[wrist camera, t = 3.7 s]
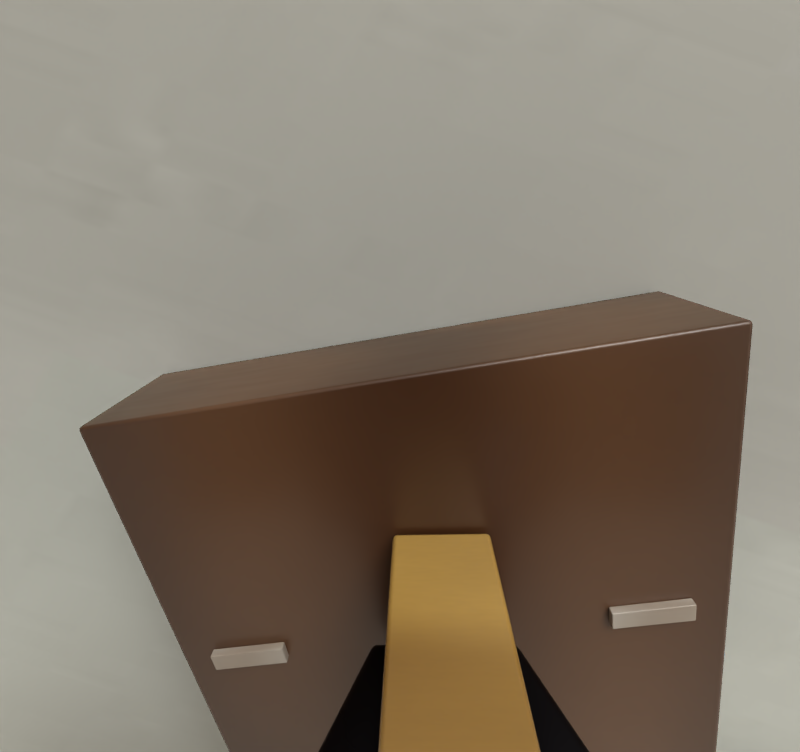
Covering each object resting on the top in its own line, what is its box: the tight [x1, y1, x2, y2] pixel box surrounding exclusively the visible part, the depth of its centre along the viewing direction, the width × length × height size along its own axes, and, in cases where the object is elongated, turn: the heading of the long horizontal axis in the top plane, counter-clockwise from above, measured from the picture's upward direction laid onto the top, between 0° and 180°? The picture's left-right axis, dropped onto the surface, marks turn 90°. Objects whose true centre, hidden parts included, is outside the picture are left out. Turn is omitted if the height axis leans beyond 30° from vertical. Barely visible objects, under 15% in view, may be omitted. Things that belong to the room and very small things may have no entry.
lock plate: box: [80, 291, 752, 752], centre depth 9 cm, size 10×10×3 cm
